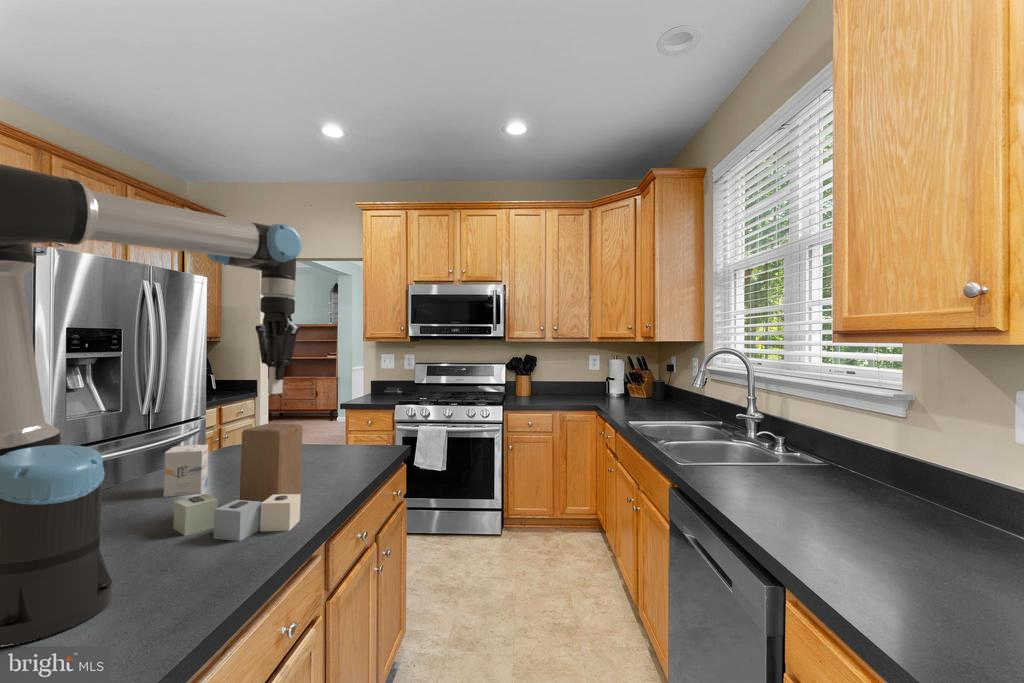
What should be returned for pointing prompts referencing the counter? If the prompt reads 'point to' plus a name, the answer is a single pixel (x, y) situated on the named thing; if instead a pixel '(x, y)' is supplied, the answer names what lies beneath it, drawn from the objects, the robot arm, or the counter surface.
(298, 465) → the wooden block
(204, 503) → the marked cube sage
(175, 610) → the counter surface
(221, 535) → the marked cube slate
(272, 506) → the marked cube cream
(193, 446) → the ink box
